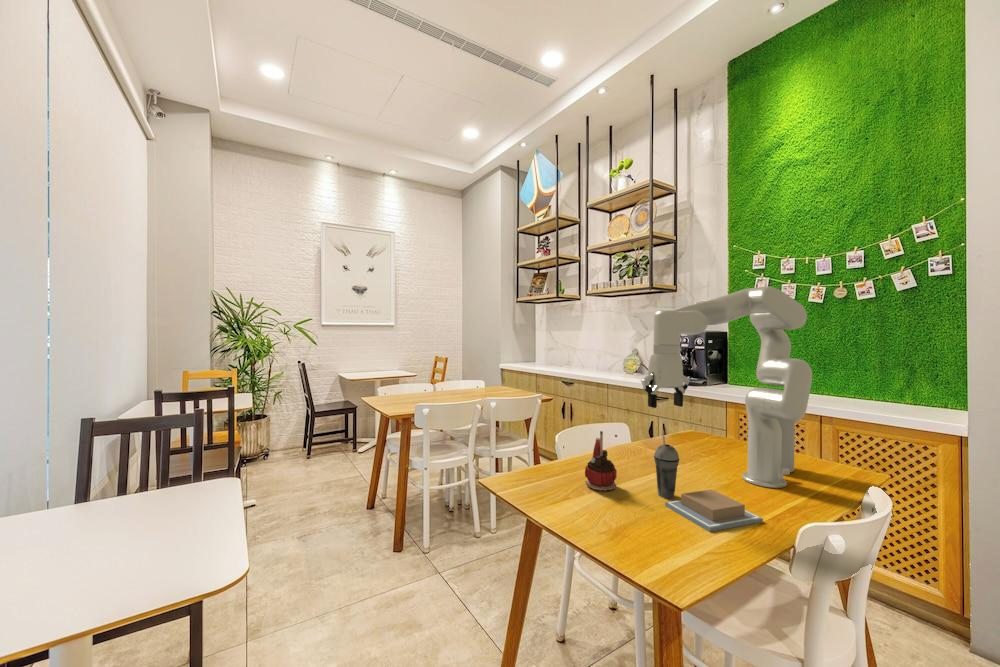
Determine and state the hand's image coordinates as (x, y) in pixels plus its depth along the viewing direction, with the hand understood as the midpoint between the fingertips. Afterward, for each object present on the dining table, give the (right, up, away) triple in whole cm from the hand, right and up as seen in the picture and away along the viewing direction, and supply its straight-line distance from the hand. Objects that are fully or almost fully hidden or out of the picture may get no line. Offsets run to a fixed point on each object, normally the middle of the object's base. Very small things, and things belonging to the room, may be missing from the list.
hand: (665, 406), depth 124 cm
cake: (-18, -28, +7) cm, 34 cm away
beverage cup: (0, -28, 0) cm, 28 cm away
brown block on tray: (+8, -28, -12) cm, 31 cm away
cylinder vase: (+51, -28, +27) cm, 64 cm away
